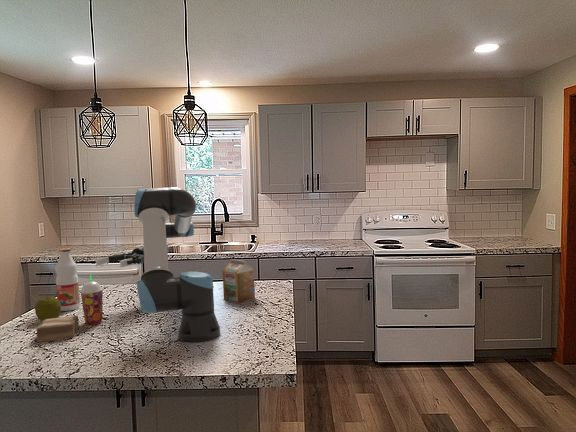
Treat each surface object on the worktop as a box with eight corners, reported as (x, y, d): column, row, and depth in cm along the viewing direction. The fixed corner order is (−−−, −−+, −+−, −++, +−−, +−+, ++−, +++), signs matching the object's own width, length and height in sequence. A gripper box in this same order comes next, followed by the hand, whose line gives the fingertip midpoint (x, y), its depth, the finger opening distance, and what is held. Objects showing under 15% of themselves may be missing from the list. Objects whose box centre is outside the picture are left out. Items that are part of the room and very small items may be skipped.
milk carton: (255, 298, 214) (253, 259, 212) (238, 303, 206) (236, 262, 205) (240, 295, 221) (239, 257, 219) (223, 299, 213) (222, 260, 212)
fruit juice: (84, 306, 209) (80, 247, 207) (66, 312, 201) (61, 250, 199) (71, 304, 214) (67, 246, 211) (53, 310, 205) (48, 249, 203)
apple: (43, 325, 183) (41, 299, 182) (30, 322, 188) (28, 296, 187) (66, 318, 191) (64, 293, 190) (54, 315, 196) (52, 291, 195)
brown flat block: (73, 337, 167) (72, 324, 166) (37, 342, 163) (36, 328, 163) (78, 327, 178) (77, 315, 178) (45, 331, 175) (44, 318, 174)
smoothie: (87, 320, 188) (84, 273, 187) (107, 319, 189) (104, 272, 187) (79, 326, 180) (76, 277, 178) (100, 325, 180) (97, 276, 179)
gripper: (164, 263, 206) (131, 273, 187) (123, 261, 216) (87, 270, 197) (163, 247, 206) (130, 255, 186) (122, 245, 216) (86, 253, 196)
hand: (108, 263), depth 192 cm, fingers open, 13 cm apart
